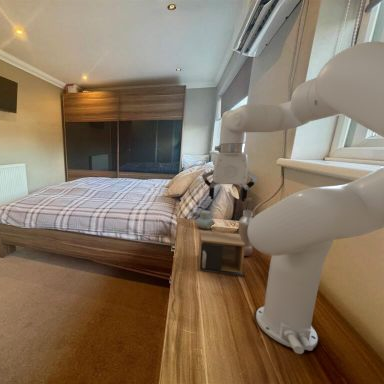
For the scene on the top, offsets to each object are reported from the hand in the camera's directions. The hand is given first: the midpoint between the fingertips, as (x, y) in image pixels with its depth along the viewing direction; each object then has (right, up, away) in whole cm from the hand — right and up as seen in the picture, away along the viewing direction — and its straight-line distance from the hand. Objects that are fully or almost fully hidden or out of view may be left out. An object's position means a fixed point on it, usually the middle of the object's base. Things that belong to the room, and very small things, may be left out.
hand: (226, 199), depth 71 cm
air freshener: (+12, -19, +52) cm, 56 cm away
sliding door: (-3, -27, +5) cm, 28 cm away
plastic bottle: (+17, -25, +19) cm, 36 cm away
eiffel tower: (+29, -21, +39) cm, 53 cm away
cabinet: (+2, -27, +11) cm, 29 cm away
